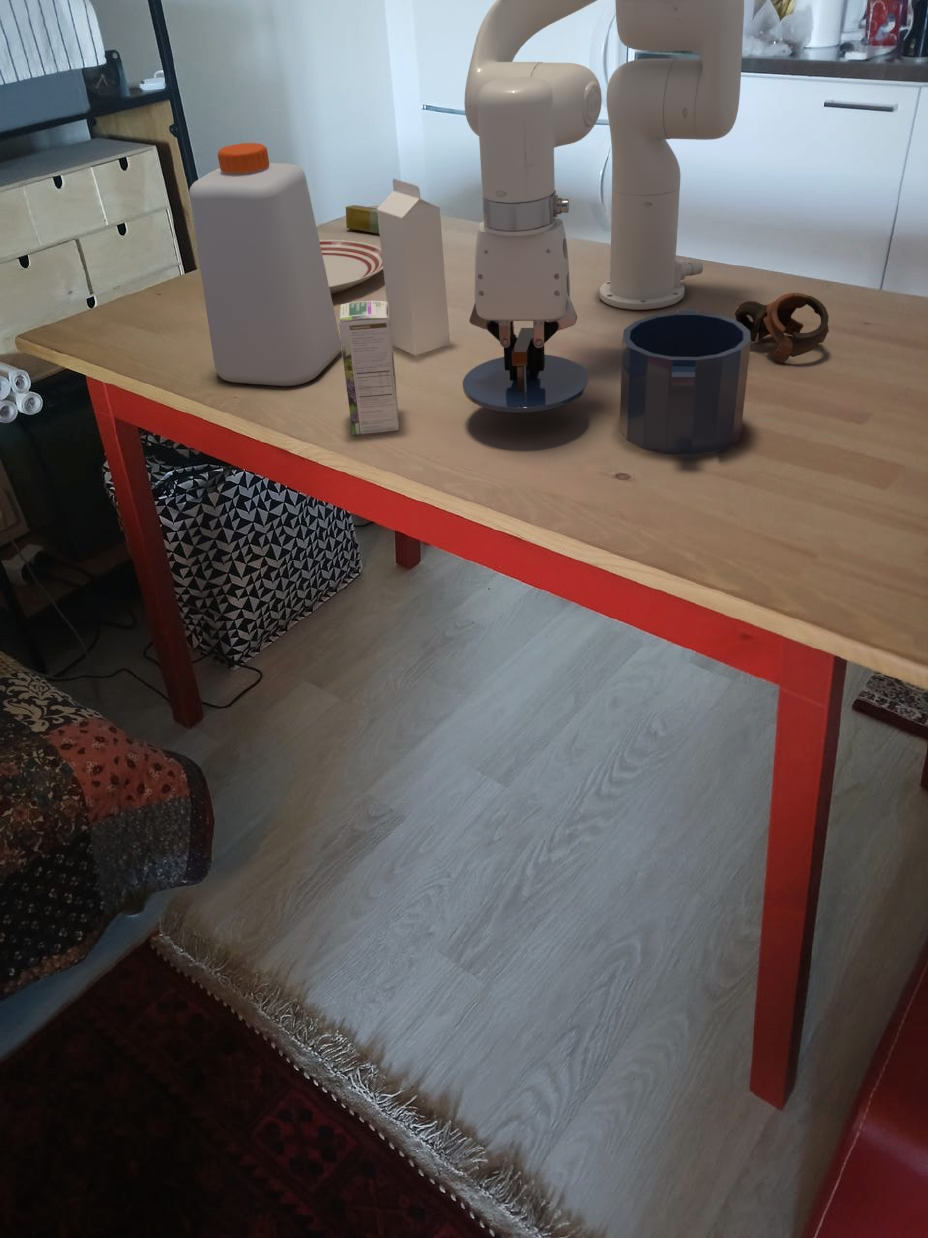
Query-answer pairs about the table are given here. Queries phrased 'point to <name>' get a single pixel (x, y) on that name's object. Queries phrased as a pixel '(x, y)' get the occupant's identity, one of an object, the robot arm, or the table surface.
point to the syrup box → (369, 366)
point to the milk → (413, 270)
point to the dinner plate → (349, 262)
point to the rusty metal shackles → (784, 324)
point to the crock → (683, 382)
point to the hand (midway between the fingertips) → (525, 374)
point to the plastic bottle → (262, 270)
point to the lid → (525, 381)
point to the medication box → (362, 218)
